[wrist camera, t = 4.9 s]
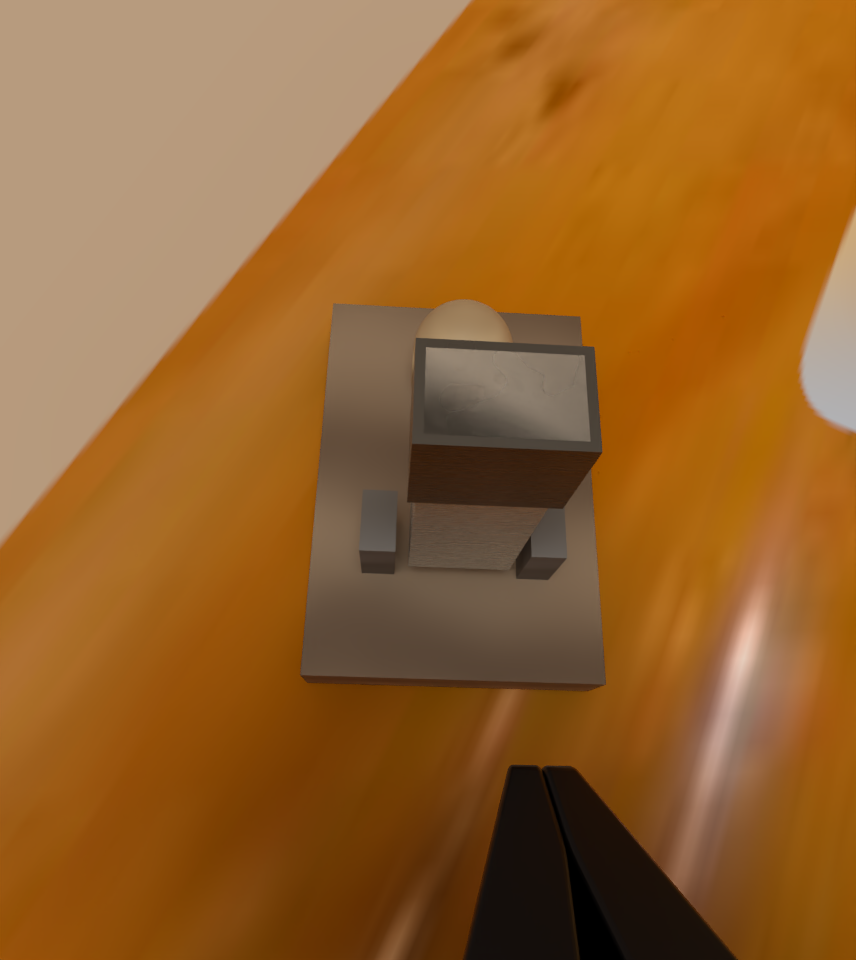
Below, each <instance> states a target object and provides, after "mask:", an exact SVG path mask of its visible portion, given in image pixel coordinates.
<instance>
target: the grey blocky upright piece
mask: <svg viewBox="0 0 856 960" xmlns="http://www.w3.org/2000/svg"><path fill="white" fill-rule="evenodd" d="M601 454H602V441H601V428H600V415H599V402H598V389H597V376H596V363H595V351H594V347H587V346H567V345H548V344H529V343H509V342H490V341H471V340H451V339H432V338H416V340H415V354H414V368H413V382H412V396H411V410H410V435H409V462H408V489H407V502H408V503H411V505H410V526H409V555H408V566H411V567H438V568H465V569H491V570H509V569H510V567H511V566H512V564H513V563H514V561H515V559H516V558H517V556H518V555H519V553H520V552H521V550H522V548H523V547H524V545H525V544H526V542H527V541H528V539H529V538H530V536H531V534H532V533H533V531H534V530H535V528H536V527H537V525H538V523H539V522H540V520H541V519H542V517H543V516H544V514H545V512H546V511H547V509H548V508H553V509H563V508H564V507H565V505H566V504H567V502H568V501H569V499H570V498H571V497H572V495H573V494H574V492H575V491H576V489H577V488H578V487H579V485H580V484H581V482H582V481H583V479H584V478H585V476H586V475H587V474H588V472H589V471H590V469H591V468H592V466H593V465H594V464H595V462H596V461H597V459H598V458H599V456H600V455H601Z"/></svg>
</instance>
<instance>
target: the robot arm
mask: <svg viewBox="0 0 856 960" xmlns="http://www.w3.org/2000/svg"><path fill="white" fill-rule="evenodd" d="M463 960H738V959H737V958H736V957H735V956H734V954H733V953H732V952H731V951H730V950H729V949H728V947H727V946H726V945H725V944H724V943H723V941H722V940H721V939H720V938H719V937H718V936H717V934H716V933H715V932H714V931H713V930H712V928H711V927H710V926H709V925H708V924H707V923H706V921H705V920H704V919H703V918H702V917H701V915H700V914H699V913H698V912H697V911H696V910H695V908H694V907H693V906H692V905H691V904H690V903H689V901H688V900H687V899H686V898H685V897H684V895H683V894H682V893H681V892H680V891H679V890H678V888H677V887H676V886H675V885H674V884H673V882H672V881H671V880H670V879H669V878H668V877H667V875H666V874H665V873H664V872H663V871H662V869H661V868H660V867H659V866H658V865H657V864H656V862H655V861H654V860H653V859H652V858H651V856H650V855H649V854H648V853H647V852H646V851H645V849H644V848H643V847H642V846H641V845H640V844H639V842H638V841H637V840H636V839H635V838H634V836H633V835H632V834H631V833H630V832H629V831H628V829H627V828H626V827H625V826H624V825H623V823H622V822H621V821H620V820H619V819H618V818H617V816H616V815H615V814H614V813H613V812H612V810H611V809H610V808H609V807H608V806H607V805H606V803H605V802H604V801H603V800H602V799H601V797H600V796H599V795H598V794H597V793H596V792H595V790H594V789H593V788H592V787H591V786H590V785H589V783H588V782H587V781H586V780H585V779H584V777H583V776H582V775H581V774H580V773H579V772H578V771H577V770H576V769H575V768H573V767H571V766H545V767H543V768H542V769H541V768H540V767H538V766H536V765H511V766H510V767H509V768H508V771H507V775H506V779H505V783H504V788H503V792H502V796H501V800H500V804H499V809H498V813H497V817H496V821H495V826H494V830H493V834H492V838H491V842H490V847H489V851H488V855H487V859H486V864H485V868H484V872H483V876H482V880H481V885H480V889H479V893H478V897H477V902H476V906H475V910H474V914H473V918H472V923H471V927H470V931H469V935H468V940H467V944H466V948H465V952H464V956H463Z"/></svg>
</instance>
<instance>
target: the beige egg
mask: <svg viewBox="0 0 856 960" xmlns="http://www.w3.org/2000/svg"><path fill="white" fill-rule="evenodd" d="M416 338H432V339H451V340H471V341H490V342H509V343H513V341H512V337H511V333H510V331H509V328H508V326H507V325H506V323H505V321H504V320H503V319H502V317H501V316H500V315H499V314H498V313H497V312H496V311H495V310H493V309H492V308H490V307H489V306H487V305H485V304H483V303H481V302H478V301H474V300H454V301H450V302H447V303H444V304H442V305H440V306H438V307H437V308H435V309H434V310H433V311H431V312H430V313H429V314H428V315H427V316H426V318H425V319H424V320H423V321H422V323H421V324H420V326H419V328H418V331H417V333H416V336H415V340H416ZM415 340H414V347H413V360H412V375H411V386H412V382H413V368H414V354H415Z"/></svg>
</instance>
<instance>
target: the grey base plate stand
mask: <svg viewBox="0 0 856 960" xmlns="http://www.w3.org/2000/svg"><path fill="white" fill-rule="evenodd" d="M433 310H434V309H426V308H407V307H389V306H370V305H351V304H333V314H332V325H331V336H330V347H329V359H328V370H327V381H326V392H325V404H324V415H323V426H322V437H321V449H320V460H319V471H318V482H317V494H316V505H315V516H314V527H313V539H312V550H311V561H310V572H309V584H308V595H307V606H306V617H305V629H304V640H303V651H302V662H301V674H300V675H301V676H302V677H303V678H304V680H305V681H306V682H307V683H338V684H371V685H405V686H438V687H472V688H505V689H538V690H572V691H589V690H592V689H595V688H597V687H600V686H603V685H606V680H605V666H604V651H603V637H602V623H601V608H600V594H599V580H598V565H597V551H596V537H595V522H594V508H593V494H592V479H591V469H590V471H589V472H588V474H587V475H586V476H585V478H584V479H583V481H582V482H581V484H580V485H579V487H578V488H577V489H576V491H575V492H574V494H573V495H572V497H571V498H570V499H569V501H568V502H567V504H566V505H565V507H564V508H563V509H553V508H548V509H547V511H546V512H545V514H544V516H543V517H542V519H541V520H540V522H539V523H538V525H537V527H536V528H535V530H534V531H533V533H532V534H531V536H530V538H529V539H528V541H527V542H526V544H525V545H524V547H523V548H522V550H521V552H520V553H519V555H518V556H517V558H516V559H515V561H514V563H513V564H512V566H511V567H510V569H509V570H491V569H465V568H438V567H411V566H408V555H409V526H410V505H411V503H408V502H407V489H408V462H409V435H410V410H411V396H412V386H411V375H412V360H413V347H414V340H415V336H416V333H417V331H418V328H419V326H420V324H421V323H422V321H423V320H424V319H425V318H426V316H427V315H428V314H429V313H430V312H431V311H433ZM497 313H498V314H499V315H500V316H501V317H502V319H503V320H504V321H505V323H506V325H507V326H508V328H509V331H510V333H511V337H512V341H513V343H529V344H548V345H567V346H582V336H581V322H580V317H575V316H556V315H538V314H519V313H500V312H497Z"/></svg>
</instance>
